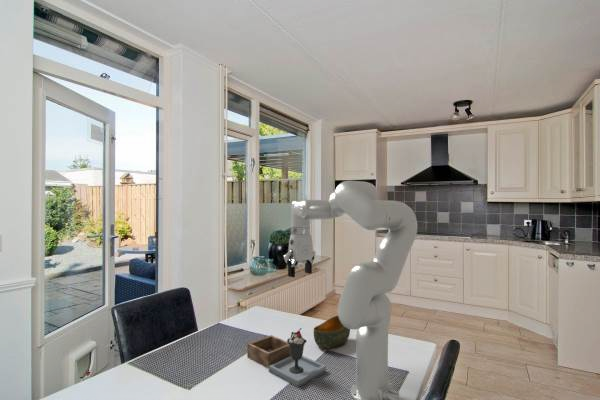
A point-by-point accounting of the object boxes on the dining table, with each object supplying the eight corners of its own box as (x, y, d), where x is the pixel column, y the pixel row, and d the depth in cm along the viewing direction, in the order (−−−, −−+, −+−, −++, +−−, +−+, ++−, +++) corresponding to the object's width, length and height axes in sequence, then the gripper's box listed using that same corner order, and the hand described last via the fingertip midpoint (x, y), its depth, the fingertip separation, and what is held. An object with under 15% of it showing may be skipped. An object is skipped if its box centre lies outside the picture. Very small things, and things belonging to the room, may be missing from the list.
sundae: (304, 376, 109) (304, 330, 109) (284, 373, 110) (285, 329, 111) (307, 366, 115) (308, 323, 116) (289, 364, 117) (289, 322, 117)
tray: (325, 371, 114) (325, 365, 114) (298, 387, 104) (298, 381, 104) (296, 358, 123) (296, 353, 123) (268, 371, 113) (268, 366, 113)
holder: (292, 357, 124) (292, 343, 124) (268, 368, 116) (268, 354, 116) (271, 347, 133) (271, 335, 133) (247, 357, 124) (247, 343, 124)
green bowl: (363, 347, 133) (362, 322, 133) (316, 353, 128) (315, 327, 128) (350, 335, 146) (350, 313, 146) (307, 340, 141) (307, 316, 141)
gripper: (291, 233, 121) (291, 279, 120) (321, 231, 133) (321, 273, 133) (278, 232, 126) (277, 276, 126) (308, 230, 138) (307, 270, 138)
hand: (300, 274), depth 129 cm, fingers open, 9 cm apart
